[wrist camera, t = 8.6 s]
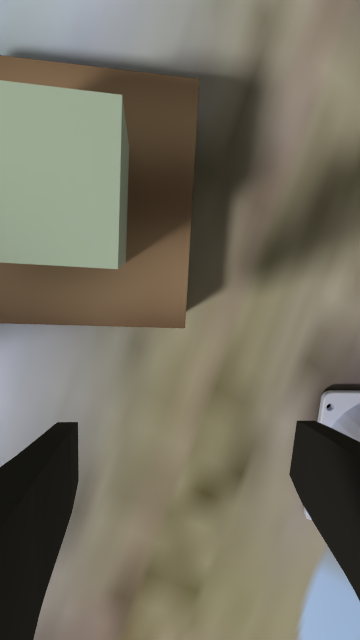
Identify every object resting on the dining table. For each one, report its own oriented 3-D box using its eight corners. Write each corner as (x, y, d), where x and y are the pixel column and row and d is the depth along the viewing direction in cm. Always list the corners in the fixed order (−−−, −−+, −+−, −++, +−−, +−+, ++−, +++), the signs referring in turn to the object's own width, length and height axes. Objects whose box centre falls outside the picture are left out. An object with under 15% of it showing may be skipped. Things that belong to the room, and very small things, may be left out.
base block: (178, 316, 19) (184, 328, 16) (-22, 309, 18) (-53, 321, 15) (189, 107, 17) (199, 79, 14) (-38, 83, 16) (-79, 45, 13)
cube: (125, 262, 15) (117, 269, 11) (13, 255, 15) (-51, 259, 10) (129, 146, 14) (122, 95, 10) (8, 134, 14) (-65, 72, 9)
